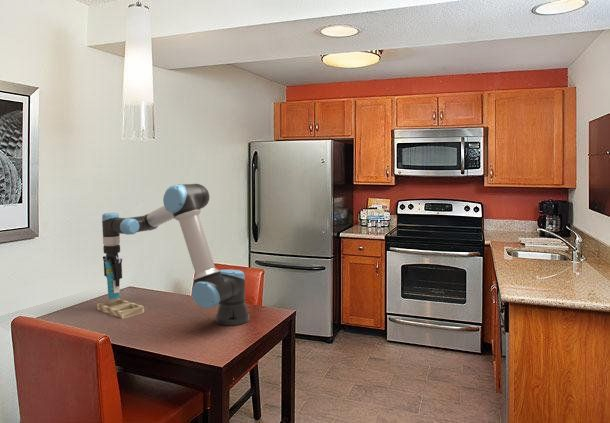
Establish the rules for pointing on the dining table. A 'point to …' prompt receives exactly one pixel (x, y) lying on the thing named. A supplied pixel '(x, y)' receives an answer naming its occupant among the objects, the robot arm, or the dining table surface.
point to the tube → (110, 281)
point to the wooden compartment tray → (120, 308)
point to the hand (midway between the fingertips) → (113, 291)
